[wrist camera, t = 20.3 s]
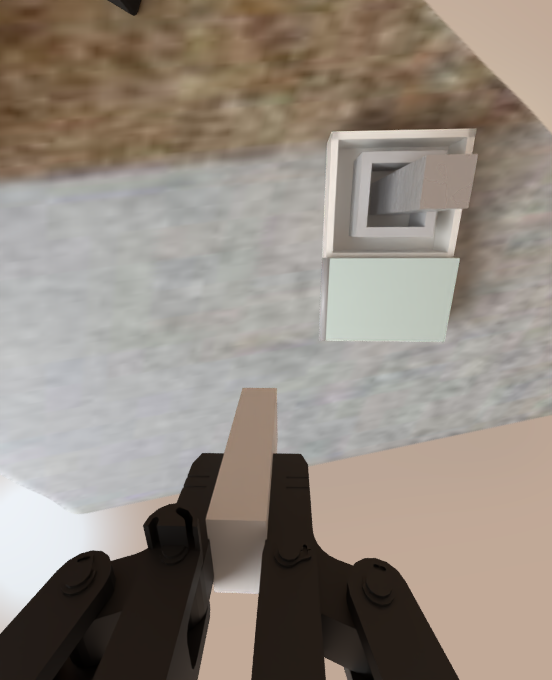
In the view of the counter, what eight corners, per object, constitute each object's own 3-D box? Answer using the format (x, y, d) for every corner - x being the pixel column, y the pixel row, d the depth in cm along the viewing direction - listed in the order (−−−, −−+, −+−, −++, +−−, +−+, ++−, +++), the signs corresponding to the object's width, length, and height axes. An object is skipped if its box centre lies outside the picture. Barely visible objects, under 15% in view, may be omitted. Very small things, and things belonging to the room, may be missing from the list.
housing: (319, 326, 44) (323, 341, 38) (327, 143, 36) (333, 128, 31) (422, 327, 43) (442, 343, 37) (452, 141, 36) (482, 125, 30)
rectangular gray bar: (369, 215, 38) (419, 209, 23) (371, 183, 37) (426, 154, 22) (398, 214, 38) (468, 208, 22) (402, 182, 36) (478, 153, 21)
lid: (318, 338, 39) (318, 340, 38) (321, 257, 36) (322, 258, 35) (440, 339, 38) (444, 342, 37) (456, 257, 35) (460, 258, 34)
